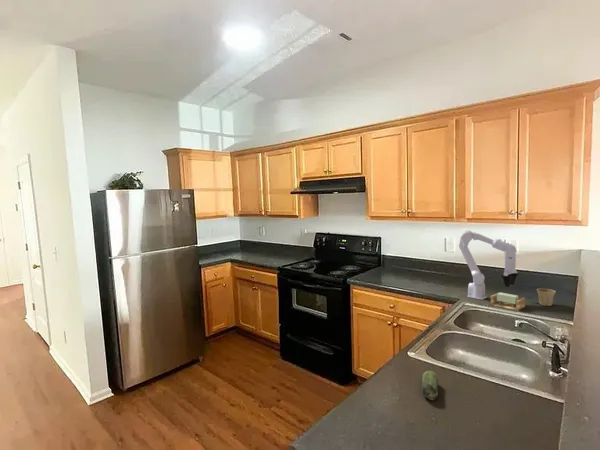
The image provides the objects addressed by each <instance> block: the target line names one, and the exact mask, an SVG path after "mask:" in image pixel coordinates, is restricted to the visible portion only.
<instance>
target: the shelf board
mask: <svg viewBox="0 0 600 450" xmlns="http://www.w3.org/2000/svg"><path fill="white" fill-rule="evenodd" d="M497 293H498V294H497V301H502V302H507V303H512V304H516V301H517V300H519V299H520V297H519V295H518V294H513V293H512V294H511V293H505V292H501V291H500V292H497Z"/></svg>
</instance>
